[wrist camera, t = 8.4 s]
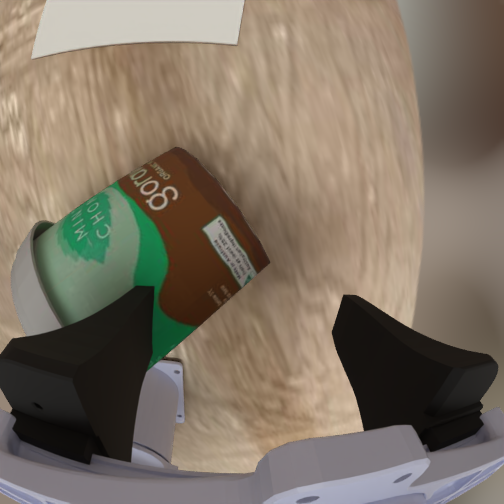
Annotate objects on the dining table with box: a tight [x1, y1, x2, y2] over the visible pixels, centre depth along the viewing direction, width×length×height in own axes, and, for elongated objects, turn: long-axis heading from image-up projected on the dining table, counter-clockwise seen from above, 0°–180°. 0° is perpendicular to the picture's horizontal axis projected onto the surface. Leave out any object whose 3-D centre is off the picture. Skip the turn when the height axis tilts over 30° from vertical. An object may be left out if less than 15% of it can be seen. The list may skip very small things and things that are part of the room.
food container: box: [11, 147, 270, 371], centre depth 13 cm, size 12×6×10 cm
